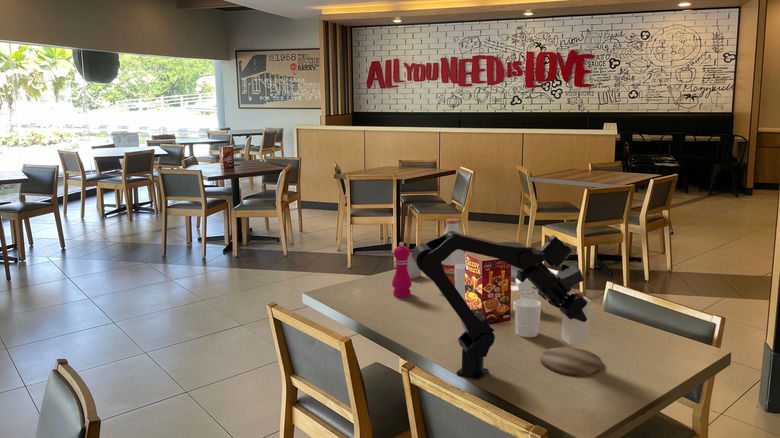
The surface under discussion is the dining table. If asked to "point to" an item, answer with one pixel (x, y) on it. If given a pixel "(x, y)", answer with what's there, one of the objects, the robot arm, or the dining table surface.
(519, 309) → the white cup
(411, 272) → the tea bag
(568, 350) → the walnut serving board
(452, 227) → the fruit juice
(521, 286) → the character figurine
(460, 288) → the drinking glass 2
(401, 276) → the pepper mill
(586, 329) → the square squeeze bottle
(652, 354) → the dining table surface
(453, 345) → the dining table surface
